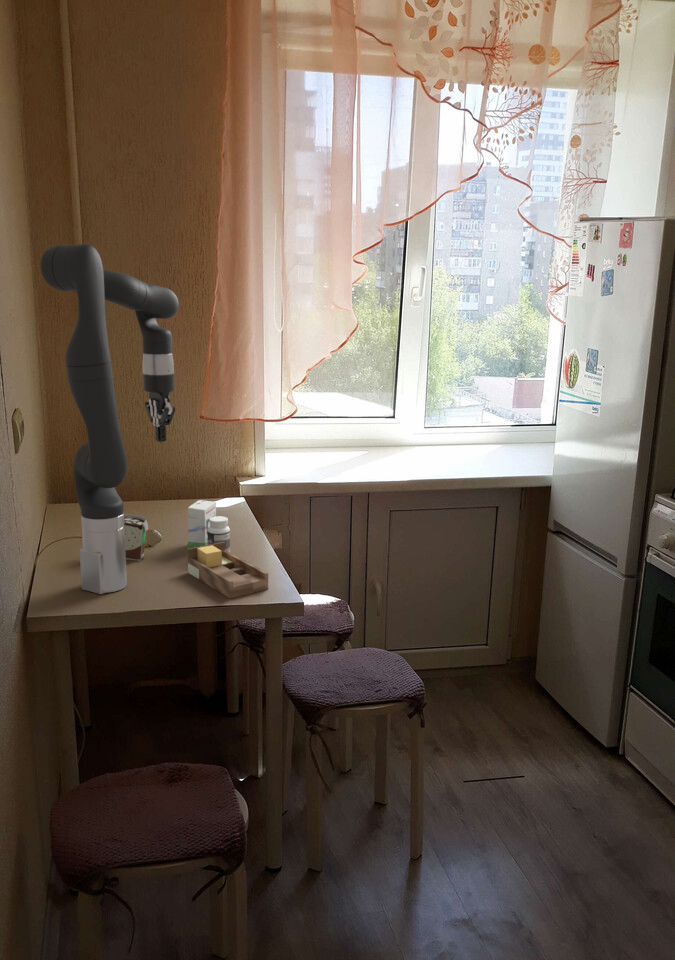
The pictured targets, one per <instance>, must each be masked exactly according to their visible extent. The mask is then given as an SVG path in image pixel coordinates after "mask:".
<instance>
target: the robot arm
mask: <svg viewBox="0 0 675 960" xmlns="http://www.w3.org/2000/svg"><path fill="white" fill-rule="evenodd" d="M39 266H40V267H39V268H40V272H41V275H42V278H43V280H44V281H45V282H46V284H48V286H49V287H51V288H52V289H55V290H58V291H62V292H75V293H76V295H77V308H78V312H77V313H78V315H77V321H76V324H75V327H74V329H73V333H72V335H71V337H70V339H69V342H68V345H67V348H66V351H65V357H64V358H65V367H66V373H67V380H68V386H69V390H70V393H71V395H72V397H73V400H74V403H75V404H76V406H77V409H78V411H79V412H80V415H81V417H82V420H83V422H84V425H85V428H86V432H87V439H88V441H87V442H86V443H84V444H83V445H81V446H80V447H79V448H78V449H77V452H76V453H75V456H74V462H73V473H74V485H75V493H76V494H75V495H76V500H77V503H78V505H79V507H80V515H81V516H80V517H81V518H80V519H81V533H82V535H81V536H82V537H81V538H82V548H80V549H79V563H80V564H79V565H80V579H81V580H80V581H81V583H80V584H81V590H83V591H88V592H92V593H94V594H98V595H103V594H107V593H113V592H118V591H121V590H123V589H125V588H126V587H127V585H128V581H127V579H128V578H127V559H126V552H125V530H124V515H125V511H124V509H125V507H124V501H123V499H122V498H121V497H120V496H119V493H118V491H117V490H116V487H118V486H119V485H121V483H122V482H123V481H124V479H125V478H126V475H127V472H128V459H127V452H126V449H125V445H124V442H123V437H122V433H121V428H120V423H119V418H118V410H117V409H118V408H117V407H118V406H117V401H116V393H115V386H114V374H113V368H112V359H111V355H110V348H109V347H110V346H109V339H108V338H109V337H108V331H107V321H106V320H107V319H106V307H105V306H106V305H105V304H106V303H105V301H108V302H111V303H112V304H116V305H119V306H121V307H124V308H126V309H128V310H131V311H134V313H135V316H136V319H137V323H138V326H139V329H140V332H141V337H142V353H143V354H142V381H143V382H142V385H143V391H144V392H146V393H148V401H144V407H145V409H146V411H147V415H148V419H149V421H150V423H153V424H152V425H153V427H154V432H155V435H154V438H155V441H156V442H159V443H162V442H163V443H165V442H166V441H167V429H166V428H167V427H168V426H171V423H172V420H173V417H174V415H175V412H176V407H175V406H171V397H170V392H171V393H172V392H174V391H175V362H174V361H175V360H174V355H173V336H172V332H171V331H170V330H169V329H167V328H163V327H161V326H160V325H159V324H158V322H157V319H163V320H164V319H165V320H166V319H170V318H173V317H174V316H175V315H176V314H177V313H178V311H179V305H180V303H179V299H178V297H177V295H176V294H175V292H174V291H172V290H171V289H169V288H168V287H165V286H161V285H156V284H151V283H147V282H144V281H143V280H140V279H138V278H136V277H135V276H131V275H128V274H126V273H123V272H118V271H114V270H109V269H108V270H107V269H104V266H103V261H102V258H101V256H100V254H99V252H98V250H97V249H96V248H95V247H94V246H93V245H91V244H85V243H84V244H82V243H81V244H80V243H79V244H78V243H77V244H61V245H60V244H59V245H54V246H52V247H49V248H48V249H46V250H45V251H44V252H43V254H42V256H41V259H40V265H39Z"/></svg>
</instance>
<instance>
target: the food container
mask: <svg viewBox="0 0 675 960" xmlns="http://www.w3.org/2000/svg"><path fill="white" fill-rule="evenodd" d="M148 529H149V525H148V520H147V519H146V517H144V516H142V515H136V514H124V530H125V552H126V560H130V561H131V560H132V561H138V562H140V561H141V562H142V561H144V558H145V548H146V547H145V546H146V544H145V543H146V532H147V531H148Z"/></svg>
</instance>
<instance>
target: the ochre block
mask: <svg viewBox="0 0 675 960" xmlns="http://www.w3.org/2000/svg"><path fill="white" fill-rule="evenodd" d="M197 561H199V562H201V563H202V564H204V565H206V566H208V567H214V566H219V565H222V551H221V550H219V549H218V548H216V547H214V546H213V545H211V546H206V547H200V548H197Z"/></svg>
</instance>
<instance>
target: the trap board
mask: <svg viewBox="0 0 675 960" xmlns="http://www.w3.org/2000/svg"><path fill="white" fill-rule="evenodd" d="M211 545H213V546H214V547H216V548H218V549H219V550H221V551H222V556H223V557H225V558H226V559H228V560H230V561H232V562H231V563H226V564H222V565H219V566H214V567H208V566H206V565H204V564H202V563H201V562H199V561H197V548H200V547H206V546H211ZM200 547H195V548H190V549H188V548H187V564H188V563H189V564H191V565H192V566H194V567H196V568H197V569H199V579H198V580H199V581H201V582H203V583H204V584H206V585H207V586H209V587H211V588H212V589H214V590H216V591H217V592H219V593H220V594H223V595H224V596H225V597H227V598H228V599H233V598H238V597H242V596H246V595H249V594H250V595H251V594H253V593H254V594H255V593H259V592H262V591H266V590H269V572H267V571H265V570H264V569H261V568H260V567H258V566H256V565H254V564H252V563H250V562H248V561H246V560H245V559H242V558H241V557H238V556H237V555H235V554H233V553H231V552H230V553H229V552H227V551H226V550H225V542H220V543H215V544H210V545H205V546H200Z"/></svg>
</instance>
